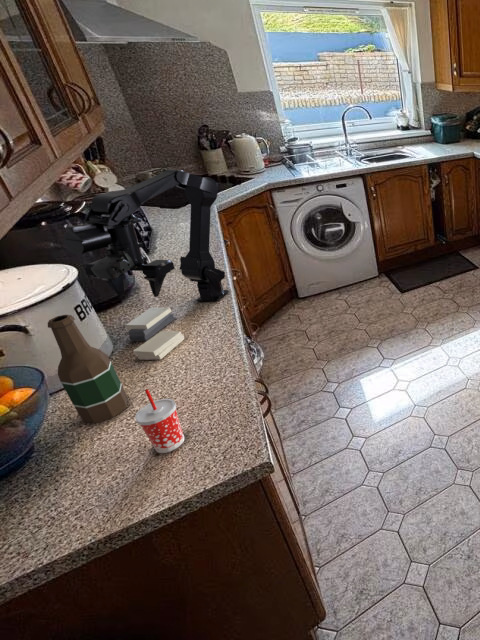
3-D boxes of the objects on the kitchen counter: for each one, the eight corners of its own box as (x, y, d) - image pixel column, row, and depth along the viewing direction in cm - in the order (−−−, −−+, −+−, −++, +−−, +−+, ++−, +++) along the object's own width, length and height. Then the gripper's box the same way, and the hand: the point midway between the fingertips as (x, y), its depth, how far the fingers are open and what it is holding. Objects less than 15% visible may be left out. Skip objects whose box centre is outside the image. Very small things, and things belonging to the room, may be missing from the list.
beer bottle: (89, 430, 85) (36, 334, 75) (76, 414, 89) (24, 321, 79) (136, 406, 91) (92, 315, 81) (122, 393, 95) (79, 304, 85)
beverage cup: (180, 453, 81) (155, 399, 75) (144, 458, 79) (116, 403, 74) (194, 429, 86) (173, 376, 80) (161, 433, 85) (137, 380, 79)
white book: (152, 311, 121) (150, 307, 120) (171, 311, 121) (169, 307, 120) (127, 329, 112) (125, 325, 112) (147, 329, 113) (145, 325, 112)
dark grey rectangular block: (160, 319, 123) (156, 309, 121) (175, 319, 123) (172, 309, 122) (129, 341, 113) (125, 331, 111) (146, 341, 113) (142, 331, 112)
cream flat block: (162, 338, 114) (159, 330, 113) (185, 338, 114) (182, 330, 113) (135, 360, 105) (131, 352, 104) (159, 360, 106) (156, 351, 104)
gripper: (54, 251, 100) (75, 309, 105) (134, 253, 100) (151, 310, 106) (96, 238, 110) (113, 290, 115) (168, 239, 111) (182, 292, 116)
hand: (139, 296), depth 113 cm, fingers open, 9 cm apart
